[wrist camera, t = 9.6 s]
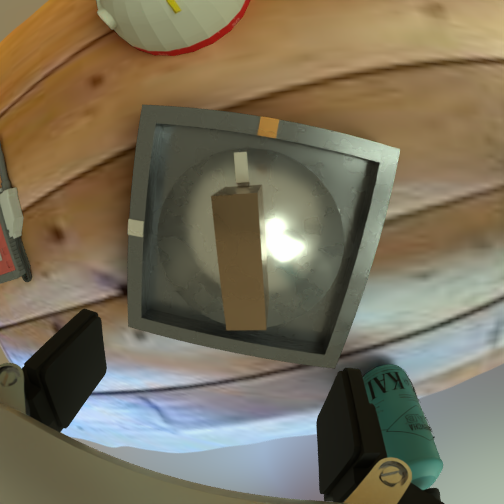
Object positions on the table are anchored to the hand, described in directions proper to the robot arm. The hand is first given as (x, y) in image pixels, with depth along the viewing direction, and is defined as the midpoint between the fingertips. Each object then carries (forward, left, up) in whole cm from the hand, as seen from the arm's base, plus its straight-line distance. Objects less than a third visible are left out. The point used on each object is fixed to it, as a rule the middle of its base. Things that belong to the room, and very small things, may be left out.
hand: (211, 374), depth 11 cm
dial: (0, 0, -17) cm, 17 cm away
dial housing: (0, 0, -19) cm, 19 cm away
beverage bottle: (-18, +14, -19) cm, 30 cm away
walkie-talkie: (+34, +3, -20) cm, 39 cm away
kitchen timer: (+11, -23, -20) cm, 32 cm away
